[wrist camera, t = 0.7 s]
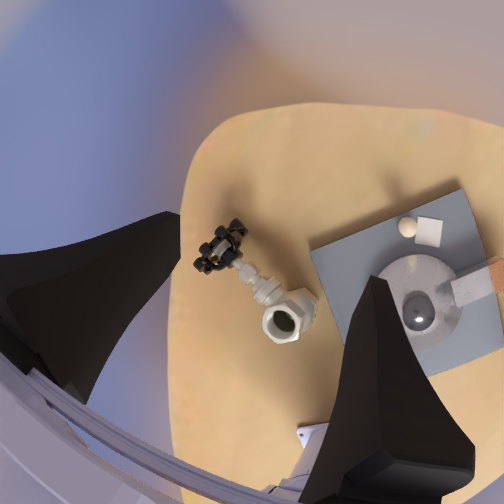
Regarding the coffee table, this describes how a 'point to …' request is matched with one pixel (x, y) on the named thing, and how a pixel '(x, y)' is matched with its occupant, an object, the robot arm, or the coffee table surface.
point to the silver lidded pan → (437, 294)
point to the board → (415, 242)
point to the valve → (260, 286)
